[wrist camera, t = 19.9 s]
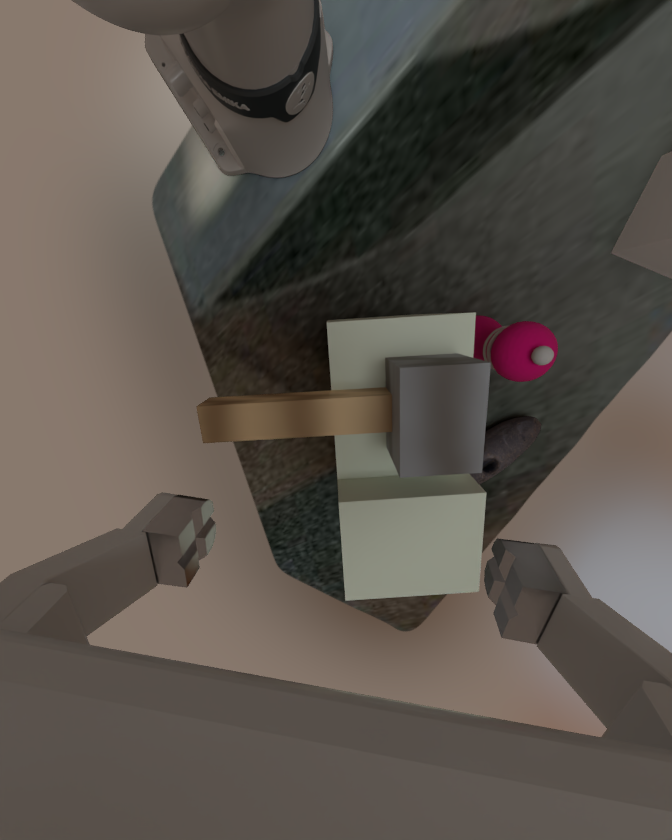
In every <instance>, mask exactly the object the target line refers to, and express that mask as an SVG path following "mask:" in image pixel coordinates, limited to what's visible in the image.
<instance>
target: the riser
mask: <svg viewBox="0 0 672 840" xmlns="http://www.w3.org/2000/svg"><path fill="white" fill-rule="evenodd" d="M475 319H476V313H446V314H417V315H399V316H384V317H370V318H355V319H340V320H328V321H327V334H328V349H329V363H330V378H331V390H347V389H363V388H380V387H386V371H385V358H386V357H403V356H420V355H437V354H454V353H458V354H462V355H465V356H469V357H472V358H473V354H474V336H475ZM334 436H335V450H336V465H337V479H338V498H339V514H340V528H341V542H342V557H343V571H344V585H345V600H346V601H347V600H362V599H377V598H392V597H407V596H422V595H437V594H452V593H466V592H478V591H479V582H480V568H481V555H482V543H483V530H484V517H485V503H486V492H485V491H484V490H483V488H482V487H481V486H480V485H479V484H478V483H477V482H476V481H475V479H474V478H473V477H472V476H471V475H470V474H455V475H438V476H422V477H405V478H400V477H399V475H398V472H397V470H396V468H395V465H394V463H393V461H392V459H391V456H390V454H389V452H388V450H387V447H386V432H383V433H366V434H349V435H334Z"/></svg>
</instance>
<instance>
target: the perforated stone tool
mask: <svg viewBox="0 0 672 840" xmlns="http://www.w3.org/2000/svg"><path fill="white" fill-rule="evenodd" d="M540 429H541V423H540V422H539V421H538V419H537V418H535V417H530V416H524V417H518V418H513V419H510V420H507V421H504V422H502V423H500V424H498V425H496V426H494V427H492V428H491V429H489V430H487V431H485V442H484V455H483V467H482V473H472V474H470V475H471V476H472V477H473V478H474V479H475V481H476V482H477V483H478V484H481V483H483V482H484V481H486V480H488V479H490V478H491V477H493V476H495V475H496V474H498V473H499V472H500V471H502V470H503V469H505V468H506V467H507V466H509V465H510V464H511V463H512V462H514V461H515V460H516V459H517V458H518V457H519V456H520V455H521V454H522V453H523V452H524V451H525V450H527V449H528V448H529V446H530V445H531V444H532V443H533V442H534V440H535V439H536V438H537V436H538V434H539V432H540Z"/></svg>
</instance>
